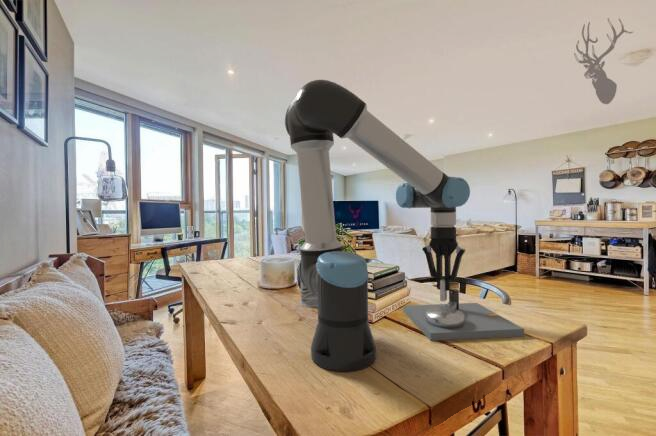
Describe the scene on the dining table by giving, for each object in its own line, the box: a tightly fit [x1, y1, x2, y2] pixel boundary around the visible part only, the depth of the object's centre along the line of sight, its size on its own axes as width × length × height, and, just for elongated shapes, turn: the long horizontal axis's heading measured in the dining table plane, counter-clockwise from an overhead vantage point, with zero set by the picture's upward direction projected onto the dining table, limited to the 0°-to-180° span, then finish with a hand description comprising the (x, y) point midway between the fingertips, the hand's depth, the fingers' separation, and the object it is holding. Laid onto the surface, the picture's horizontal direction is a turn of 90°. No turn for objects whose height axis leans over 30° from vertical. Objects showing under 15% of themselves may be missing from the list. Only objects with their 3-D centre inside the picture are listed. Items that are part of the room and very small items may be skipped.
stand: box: [402, 302, 525, 342], centre depth 89 cm, size 25×22×2 cm
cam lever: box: [426, 288, 464, 329], centre depth 88 cm, size 18×10×6 cm, turn 146°
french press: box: [297, 280, 318, 308], centre depth 110 cm, size 10×12×25 cm
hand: (443, 299), depth 96 cm, fingers closed
